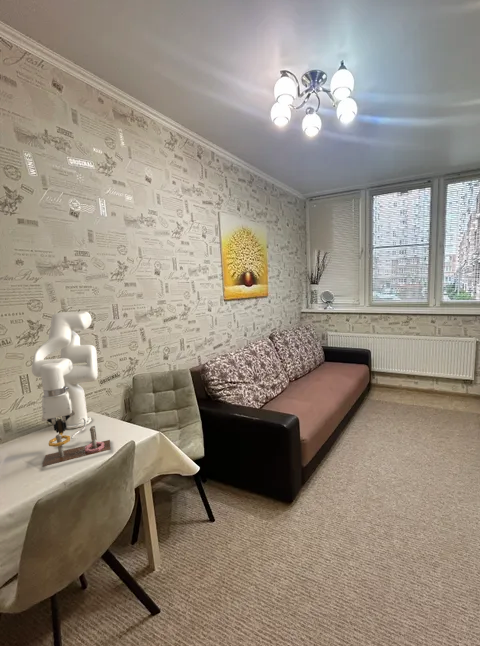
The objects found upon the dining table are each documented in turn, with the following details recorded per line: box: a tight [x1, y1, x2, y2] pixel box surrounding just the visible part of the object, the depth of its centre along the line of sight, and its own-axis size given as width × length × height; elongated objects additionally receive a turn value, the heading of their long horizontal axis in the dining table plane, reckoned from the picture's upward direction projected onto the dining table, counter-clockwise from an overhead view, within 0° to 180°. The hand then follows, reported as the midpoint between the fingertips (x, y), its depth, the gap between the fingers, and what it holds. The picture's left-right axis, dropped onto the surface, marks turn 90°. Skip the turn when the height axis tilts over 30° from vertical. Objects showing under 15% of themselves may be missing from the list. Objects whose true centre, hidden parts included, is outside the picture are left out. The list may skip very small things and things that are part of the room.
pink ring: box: [85, 425, 104, 453], centre depth 138 cm, size 12×7×7 cm, turn 32°
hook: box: [62, 417, 87, 441], centre depth 149 cm, size 7×9×20 cm
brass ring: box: [48, 418, 71, 448], centre depth 131 cm, size 12×7×7 cm, turn 32°
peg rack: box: [41, 426, 111, 468], centre depth 133 cm, size 10×24×12 cm, turn 122°
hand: (60, 430), depth 136 cm, fingers closed on brass ring, 1 cm apart
